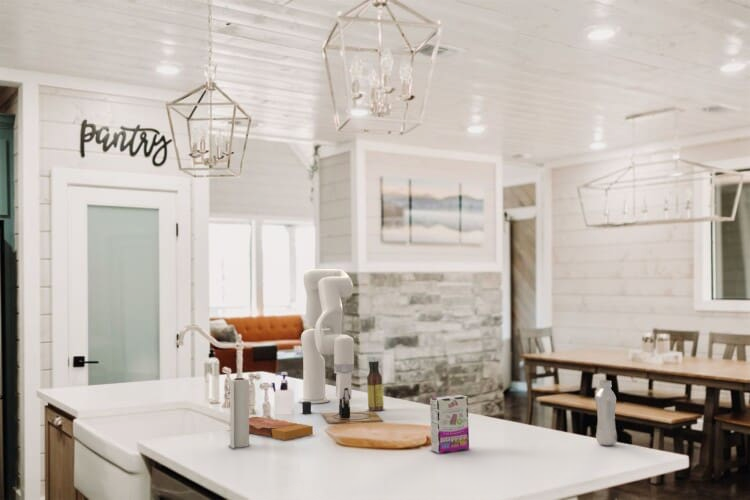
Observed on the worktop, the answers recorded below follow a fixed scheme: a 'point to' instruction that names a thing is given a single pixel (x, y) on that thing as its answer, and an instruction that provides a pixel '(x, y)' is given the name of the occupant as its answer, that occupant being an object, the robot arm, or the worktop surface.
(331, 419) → the board
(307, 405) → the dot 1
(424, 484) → the worktop surface
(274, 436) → the brown flat block
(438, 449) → the candy bar box
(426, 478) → the worktop surface
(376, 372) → the sauce bottle
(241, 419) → the tall grey block
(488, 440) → the worktop surface
